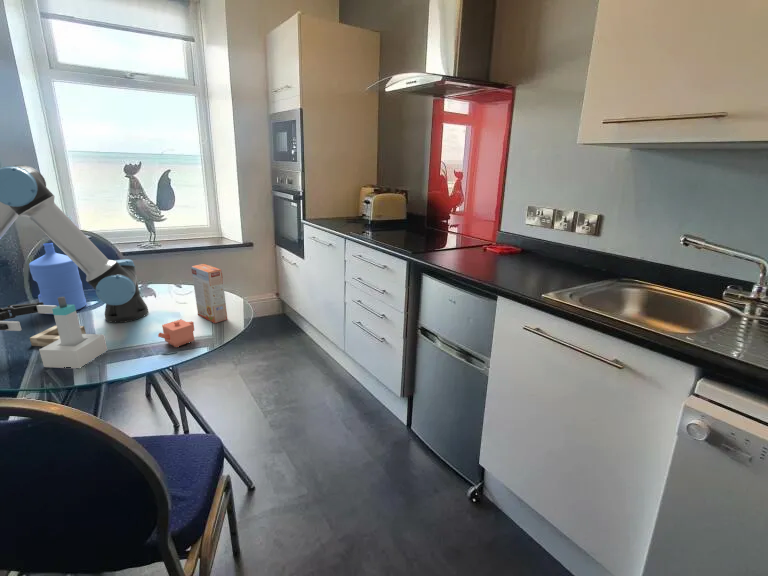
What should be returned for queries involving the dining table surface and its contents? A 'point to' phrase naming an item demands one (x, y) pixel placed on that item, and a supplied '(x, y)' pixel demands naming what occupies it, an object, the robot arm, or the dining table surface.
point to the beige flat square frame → (48, 336)
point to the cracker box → (209, 292)
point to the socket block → (73, 352)
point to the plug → (67, 323)
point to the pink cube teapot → (178, 332)
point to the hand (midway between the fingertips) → (39, 317)
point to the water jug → (57, 278)
